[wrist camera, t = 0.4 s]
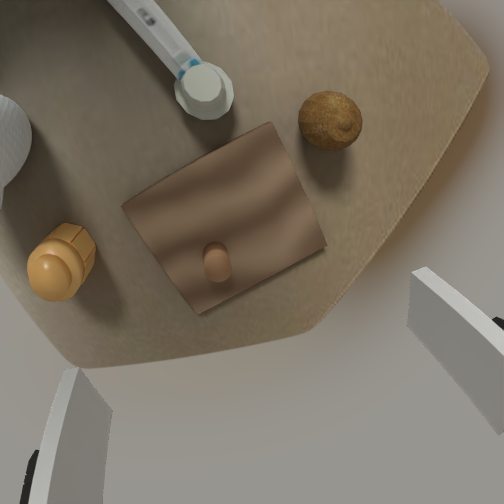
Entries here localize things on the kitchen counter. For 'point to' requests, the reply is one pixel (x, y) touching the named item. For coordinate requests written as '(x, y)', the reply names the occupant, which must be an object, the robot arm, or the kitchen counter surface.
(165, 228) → the post board
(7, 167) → the mug
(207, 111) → the electric scrub brush
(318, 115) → the fruit
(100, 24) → the kitchen counter surface
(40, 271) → the acorn cap nut
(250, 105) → the kitchen counter surface
